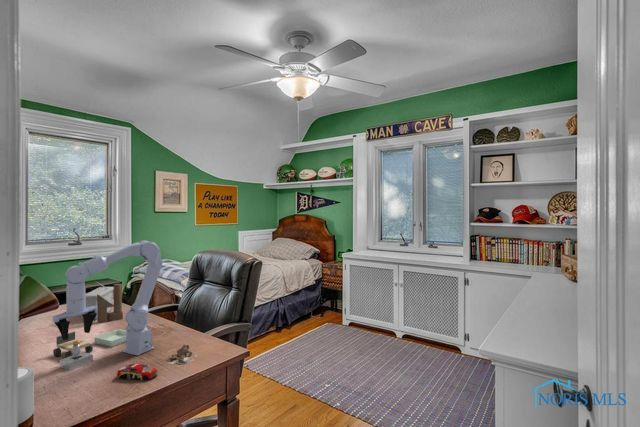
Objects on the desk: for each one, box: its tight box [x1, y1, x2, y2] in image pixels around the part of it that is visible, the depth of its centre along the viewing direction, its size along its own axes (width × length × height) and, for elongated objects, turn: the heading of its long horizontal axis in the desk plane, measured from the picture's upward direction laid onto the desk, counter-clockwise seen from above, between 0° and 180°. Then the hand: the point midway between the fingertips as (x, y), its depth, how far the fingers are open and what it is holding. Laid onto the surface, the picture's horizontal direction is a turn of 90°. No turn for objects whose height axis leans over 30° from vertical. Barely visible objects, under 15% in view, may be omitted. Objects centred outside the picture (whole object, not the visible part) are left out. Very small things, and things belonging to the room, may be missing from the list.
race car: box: [116, 363, 158, 381], centre depth 118 cm, size 13×5×4 cm, turn 84°
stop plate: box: [59, 351, 94, 371], centre depth 127 cm, size 6×8×2 cm
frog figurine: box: [167, 344, 198, 365], centre depth 133 cm, size 12×12×4 cm
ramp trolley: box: [52, 331, 94, 358], centre depth 136 cm, size 10×9×7 cm
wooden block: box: [96, 283, 124, 324], centre depth 176 cm, size 4×11×18 cm, turn 134°
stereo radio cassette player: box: [80, 281, 114, 321], centre depth 185 cm, size 21×8×20 cm, turn 10°
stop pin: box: [72, 340, 81, 360], centre depth 127 cm, size 2×2×8 cm
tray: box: [94, 328, 126, 348], centre depth 150 cm, size 11×11×2 cm
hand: (76, 335), depth 127 cm, fingers open, 7 cm apart
